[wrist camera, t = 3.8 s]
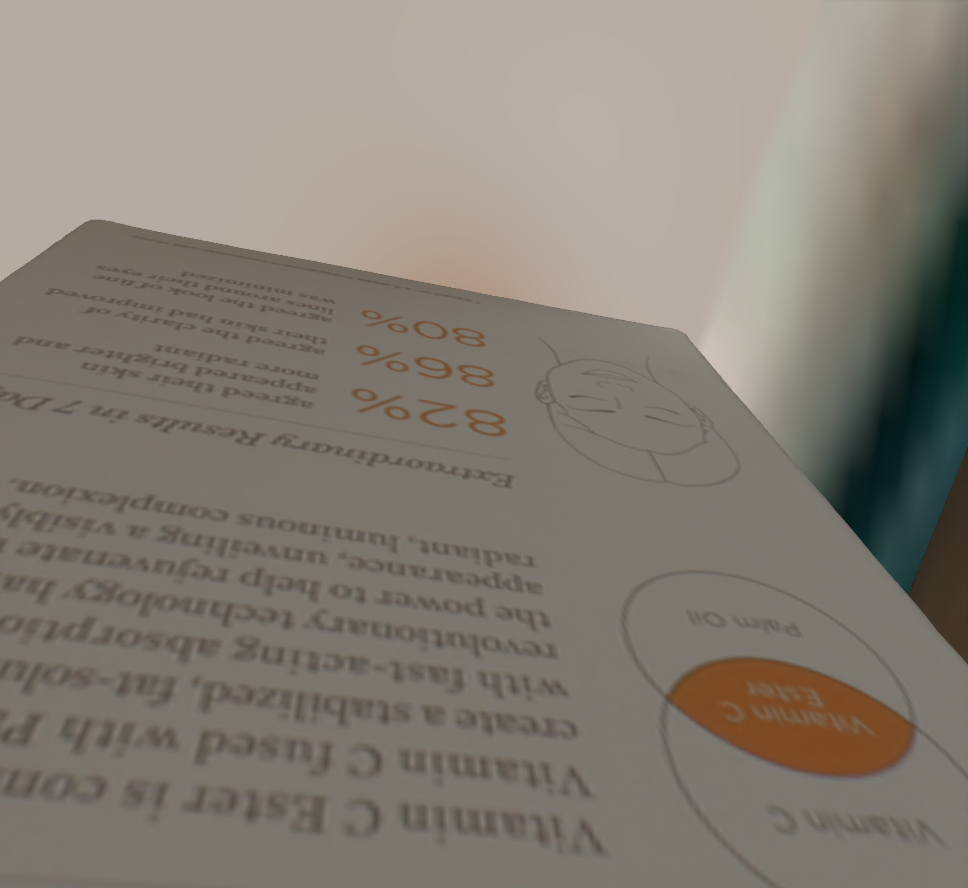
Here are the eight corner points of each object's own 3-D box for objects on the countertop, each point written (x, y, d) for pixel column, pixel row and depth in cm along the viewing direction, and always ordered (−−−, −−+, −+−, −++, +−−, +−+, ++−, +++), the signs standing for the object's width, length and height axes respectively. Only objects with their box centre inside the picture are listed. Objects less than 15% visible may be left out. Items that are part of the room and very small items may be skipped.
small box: (82, 568, 13) (-780, 2067, 4) (88, 200, 10) (-2702, 1973, 1) (584, 634, 14) (912, 1843, 5) (696, 324, 12) (1782, 1575, 2)
